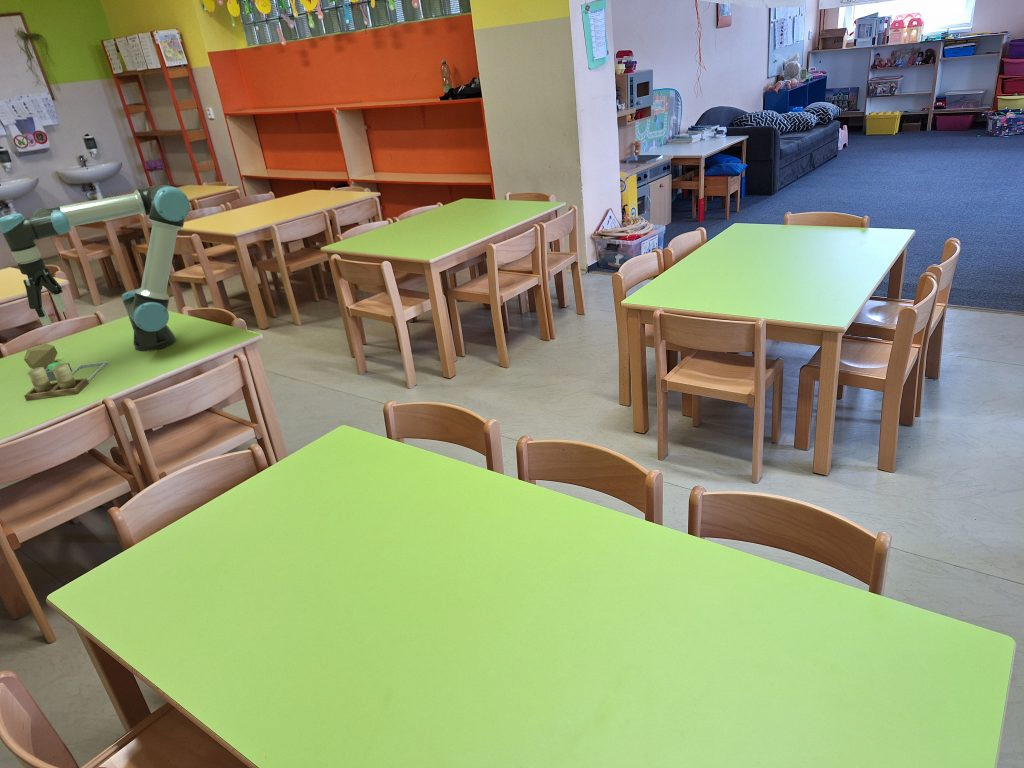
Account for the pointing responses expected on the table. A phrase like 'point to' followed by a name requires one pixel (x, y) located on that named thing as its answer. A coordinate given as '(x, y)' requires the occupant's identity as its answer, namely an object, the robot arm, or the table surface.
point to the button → (53, 365)
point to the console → (51, 373)
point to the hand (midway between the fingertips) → (55, 318)
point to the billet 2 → (64, 376)
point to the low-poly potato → (40, 356)
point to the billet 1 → (40, 380)
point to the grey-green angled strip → (101, 364)
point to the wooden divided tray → (57, 390)
